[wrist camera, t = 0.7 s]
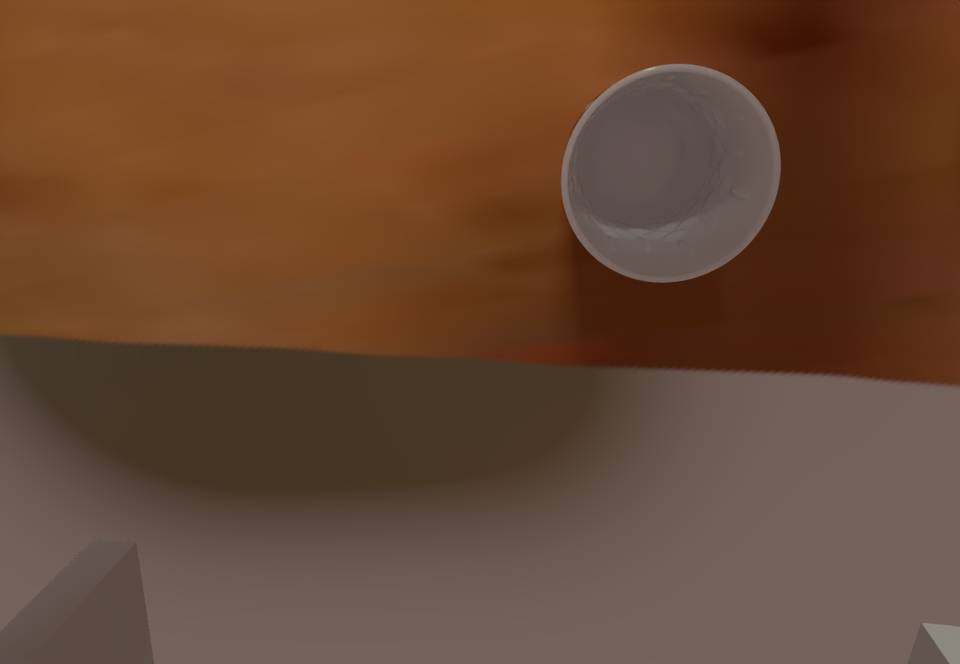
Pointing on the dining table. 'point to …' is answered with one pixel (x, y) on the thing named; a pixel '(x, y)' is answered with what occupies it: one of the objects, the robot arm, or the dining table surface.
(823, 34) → the dining table surface
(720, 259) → the white cup
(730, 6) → the dining table surface
